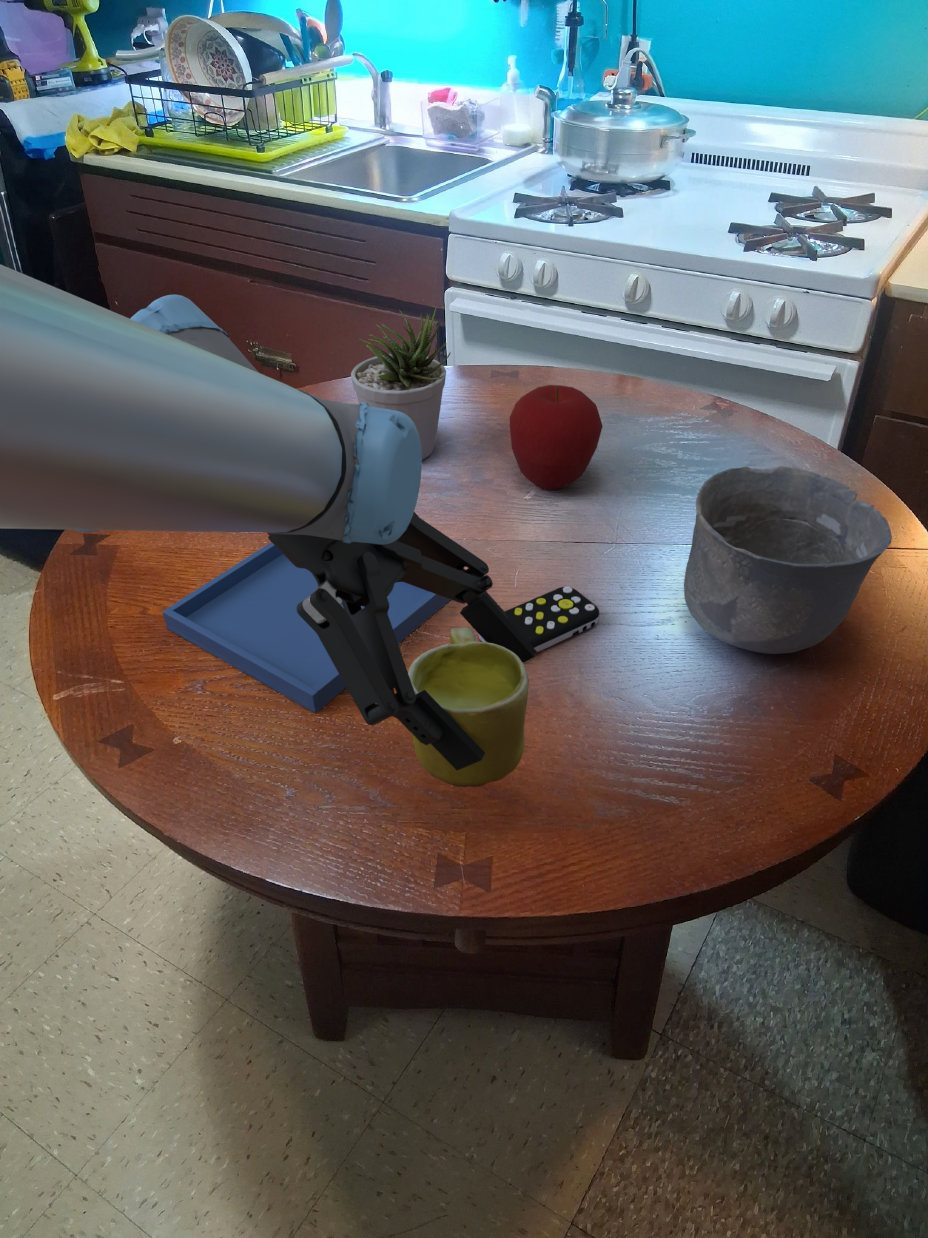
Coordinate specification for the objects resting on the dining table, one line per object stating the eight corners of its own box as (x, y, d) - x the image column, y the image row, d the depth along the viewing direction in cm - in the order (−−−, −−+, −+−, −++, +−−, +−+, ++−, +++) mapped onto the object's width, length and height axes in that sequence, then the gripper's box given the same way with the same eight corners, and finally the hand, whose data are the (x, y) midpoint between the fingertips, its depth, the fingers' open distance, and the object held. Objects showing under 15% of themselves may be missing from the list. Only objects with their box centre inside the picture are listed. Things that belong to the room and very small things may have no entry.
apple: (600, 505, 111) (610, 409, 103) (508, 505, 111) (511, 408, 103) (591, 459, 120) (600, 367, 112) (507, 459, 121) (509, 366, 112)
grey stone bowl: (858, 608, 95) (902, 488, 85) (834, 713, 82) (882, 587, 73) (696, 566, 101) (720, 450, 91) (651, 658, 89) (673, 535, 79)
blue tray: (315, 713, 83) (312, 695, 81) (166, 628, 93) (161, 611, 91) (451, 599, 96) (450, 582, 95) (308, 536, 106) (306, 519, 105)
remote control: (472, 635, 92) (472, 621, 90) (567, 594, 97) (568, 579, 96) (507, 669, 88) (507, 654, 86) (604, 623, 93) (606, 609, 92)
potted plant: (384, 485, 115) (373, 337, 103) (344, 442, 125) (329, 301, 112) (467, 462, 120) (467, 318, 107) (423, 422, 129) (417, 285, 117)
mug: (545, 796, 64) (510, 680, 60) (414, 813, 66) (372, 703, 62) (557, 707, 74) (528, 603, 71) (444, 724, 77) (410, 626, 73)
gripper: (348, 449, 73) (516, 635, 78) (176, 611, 56) (405, 835, 61) (402, 400, 68) (577, 601, 74) (232, 561, 51) (476, 809, 56)
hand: (499, 708), depth 67 cm, fingers closed on mug, 11 cm apart
